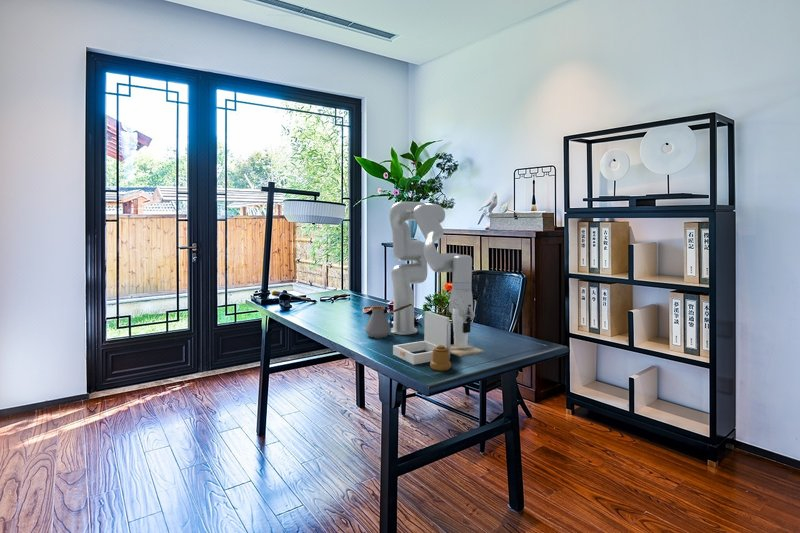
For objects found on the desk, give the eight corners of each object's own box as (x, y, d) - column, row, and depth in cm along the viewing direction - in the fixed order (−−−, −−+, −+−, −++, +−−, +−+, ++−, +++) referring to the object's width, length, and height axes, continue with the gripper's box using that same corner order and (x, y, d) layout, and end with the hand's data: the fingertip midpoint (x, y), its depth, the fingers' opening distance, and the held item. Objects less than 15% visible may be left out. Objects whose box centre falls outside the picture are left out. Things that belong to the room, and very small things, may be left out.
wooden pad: (438, 348, 193) (438, 346, 193) (462, 344, 199) (462, 342, 199) (459, 356, 181) (459, 355, 181) (484, 352, 187) (484, 350, 187)
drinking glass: (460, 348, 185) (460, 310, 184) (448, 345, 190) (449, 308, 189) (472, 345, 189) (473, 308, 188) (461, 342, 194) (461, 306, 193)
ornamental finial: (455, 368, 166) (439, 372, 162) (441, 363, 172) (425, 367, 168) (455, 346, 166) (439, 350, 161) (441, 342, 172) (425, 345, 167)
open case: (392, 354, 183) (392, 315, 182) (426, 348, 192) (427, 311, 190) (414, 365, 169) (414, 323, 168) (451, 359, 178) (451, 318, 176)
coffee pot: (363, 339, 207) (363, 305, 206) (367, 332, 218) (367, 300, 217) (412, 340, 205) (412, 306, 204) (413, 333, 217) (413, 301, 215)
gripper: (441, 284, 193) (440, 327, 195) (468, 289, 178) (467, 336, 180) (456, 283, 197) (455, 325, 198) (483, 288, 182) (482, 334, 184)
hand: (461, 330), depth 189 cm, fingers closed on drinking glass, 6 cm apart
